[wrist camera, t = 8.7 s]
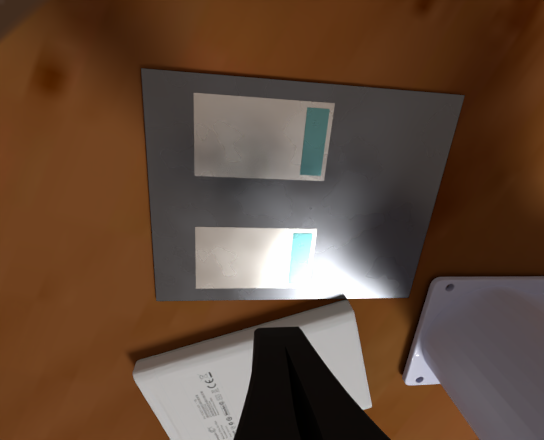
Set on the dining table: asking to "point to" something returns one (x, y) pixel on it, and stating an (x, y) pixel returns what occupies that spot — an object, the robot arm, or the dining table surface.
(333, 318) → the external hard drive
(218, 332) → the dining table surface
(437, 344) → the robot arm
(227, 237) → the bay plate
